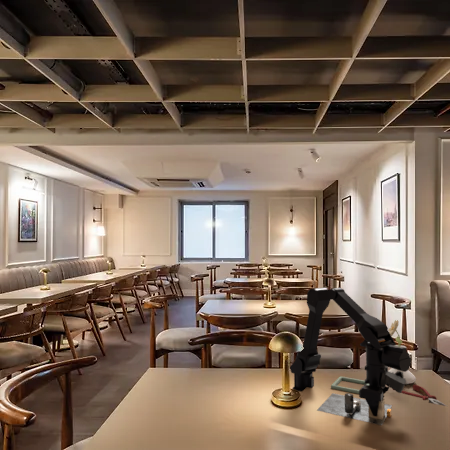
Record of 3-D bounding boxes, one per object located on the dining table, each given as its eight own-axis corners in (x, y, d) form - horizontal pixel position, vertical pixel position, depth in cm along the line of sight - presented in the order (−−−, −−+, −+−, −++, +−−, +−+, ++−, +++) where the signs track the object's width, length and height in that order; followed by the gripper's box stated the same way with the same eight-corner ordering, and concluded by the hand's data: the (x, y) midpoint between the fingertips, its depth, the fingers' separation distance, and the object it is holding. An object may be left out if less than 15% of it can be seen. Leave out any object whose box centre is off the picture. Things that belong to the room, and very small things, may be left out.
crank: (350, 403, 132) (350, 385, 133) (361, 406, 130) (361, 387, 131) (342, 414, 124) (342, 395, 124) (354, 417, 122) (353, 397, 122)
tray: (331, 392, 147) (330, 385, 147) (340, 382, 157) (340, 376, 157) (364, 399, 141) (364, 391, 141) (371, 388, 151) (371, 381, 151)
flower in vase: (388, 375, 166) (387, 315, 167) (418, 380, 160) (417, 317, 161) (380, 384, 156) (379, 319, 157) (412, 390, 149) (410, 323, 150)
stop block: (368, 416, 123) (368, 400, 123) (371, 412, 127) (371, 396, 127) (382, 419, 121) (381, 403, 121) (384, 414, 124) (384, 398, 125)
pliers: (434, 416, 128) (434, 407, 128) (391, 393, 147) (390, 386, 147) (462, 411, 132) (461, 403, 132) (415, 390, 151) (415, 383, 151)
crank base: (316, 414, 128) (316, 405, 128) (332, 397, 142) (332, 388, 142) (385, 431, 117) (385, 420, 117) (395, 410, 131) (395, 401, 131)
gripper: (398, 376, 112) (399, 432, 112) (407, 359, 128) (409, 408, 127) (358, 369, 118) (359, 422, 118) (372, 354, 134) (372, 401, 133)
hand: (376, 413), depth 124 cm, fingers closed on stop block, 4 cm apart
